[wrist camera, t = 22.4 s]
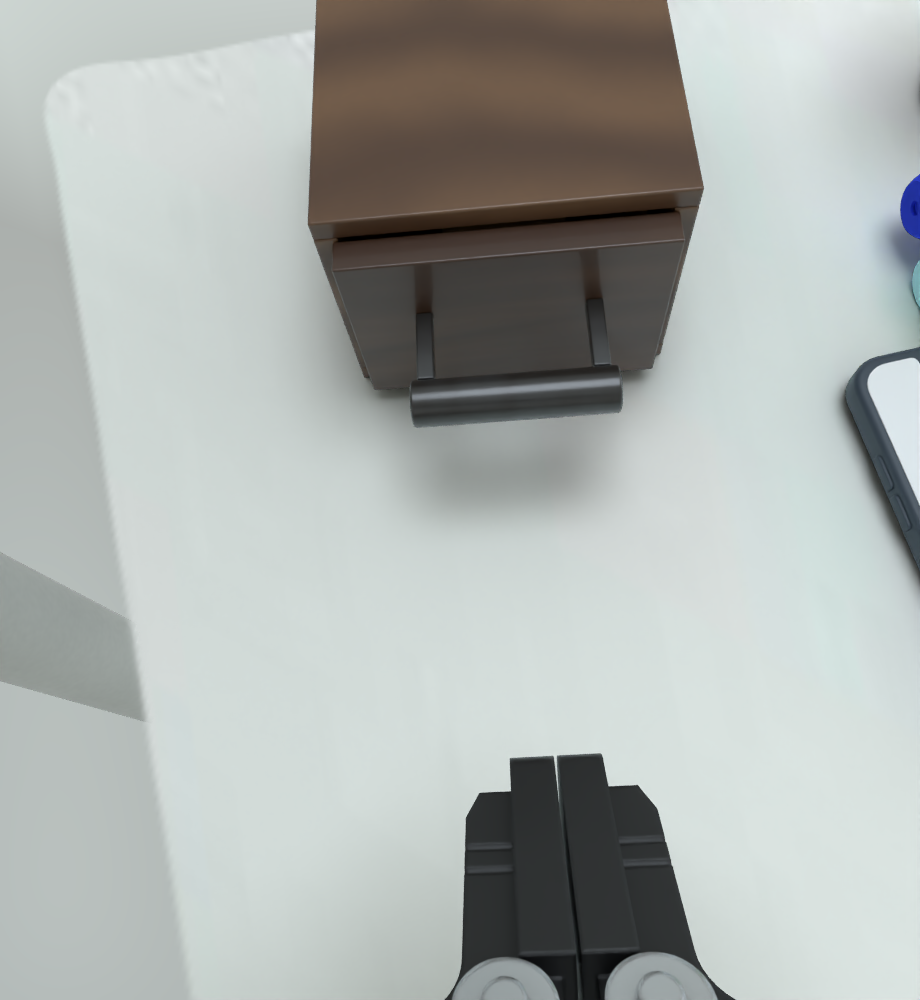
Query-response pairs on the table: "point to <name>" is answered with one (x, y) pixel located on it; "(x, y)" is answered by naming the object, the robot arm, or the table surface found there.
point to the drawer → (511, 313)
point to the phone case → (892, 431)
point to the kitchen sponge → (912, 224)
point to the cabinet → (494, 118)
